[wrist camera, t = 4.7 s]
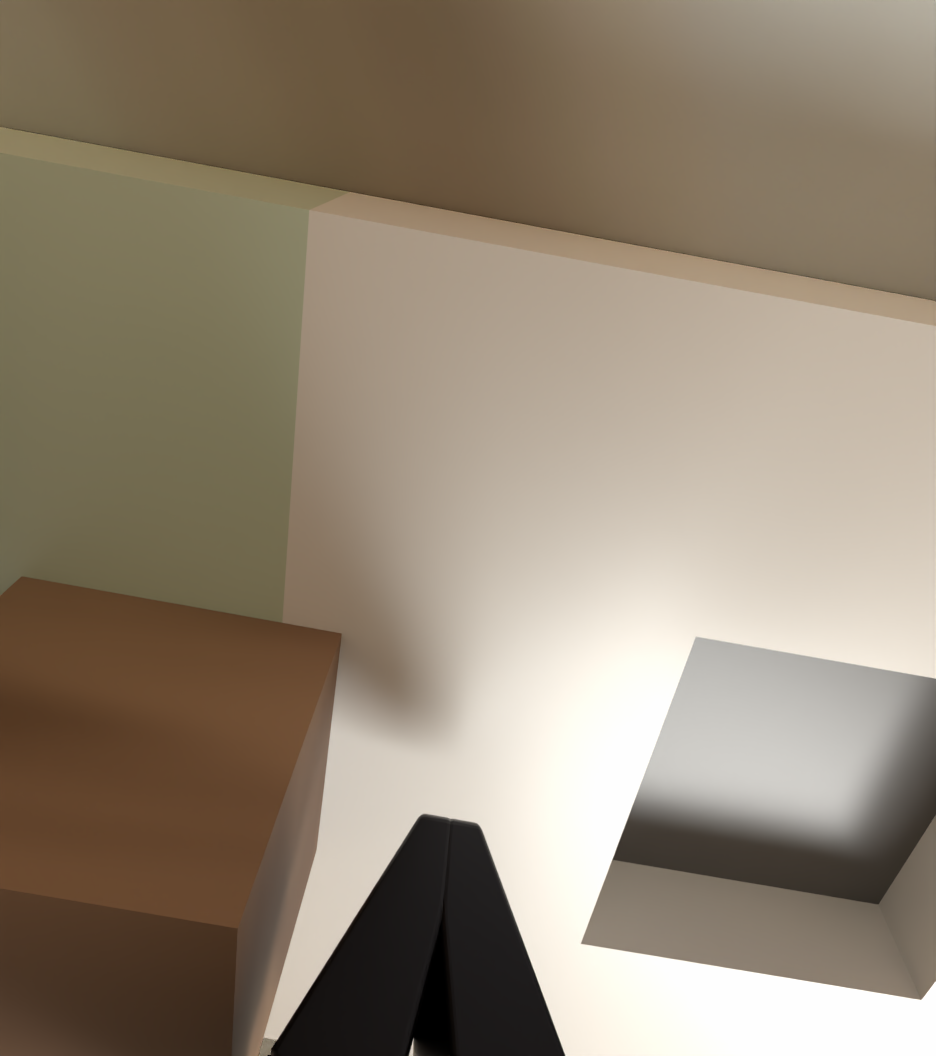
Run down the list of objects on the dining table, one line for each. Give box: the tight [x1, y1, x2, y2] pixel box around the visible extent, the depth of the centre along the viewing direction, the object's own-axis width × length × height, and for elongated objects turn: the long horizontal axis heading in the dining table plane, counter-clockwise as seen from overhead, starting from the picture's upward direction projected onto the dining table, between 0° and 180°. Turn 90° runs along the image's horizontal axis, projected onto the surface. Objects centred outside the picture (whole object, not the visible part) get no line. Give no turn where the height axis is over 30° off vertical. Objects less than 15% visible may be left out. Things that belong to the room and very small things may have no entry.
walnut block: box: [0, 576, 342, 1056], centre depth 9 cm, size 4×4×4 cm
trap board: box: [0, 127, 936, 1056], centre depth 11 cm, size 14×24×4 cm, turn 81°
